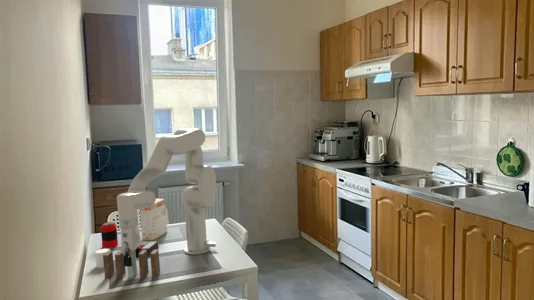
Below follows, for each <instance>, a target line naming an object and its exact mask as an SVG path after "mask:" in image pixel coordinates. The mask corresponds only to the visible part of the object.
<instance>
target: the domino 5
mask: <svg viewBox="0 0 534 300" xmlns="http://www.w3.org/2000/svg"><path fill="white" fill-rule="evenodd" d="M149 257H150V269H151V270H150V271H151V277H152V276H157V275H158V276H159V274H160V273H161V266H160V265H161V264H160V251H159V248H158V249H155V250H153V251H152V252H151V253H150V256H149ZM159 272H160V273H159ZM158 276H157V277H158Z"/></svg>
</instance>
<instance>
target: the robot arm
mask: <svg viewBox="0 0 534 300" xmlns="http://www.w3.org/2000/svg"><path fill="white" fill-rule="evenodd" d="M205 141H206V134H205V132H204V131H203V130H202V129H200V128H195V127H194V128H190V127H189V128H188V127H187V128H185V127H184V128H178V129H177V130H176V131H175V132H174V134H173V135H163V136H161V137H160V138H159V139H158V141H157V143H156V145H155V147H154V149H153V151H152V153H151V156H150V158H149V160H148V162H147V164H146V165H145V166H144V167H143V168H142V169H141V170H140V171H139V172H138V173H137V175H135V177H133V179H132V181H131V183H130V184H129V187H128V190H127V191H126V192H122V193H119V194H118V195H117V197H116V203H117V204H116V205H117V213H118V214H117V215H118V223H119V224H118V225H119V229H120V239H121V241H120V243H121V251H122V255H123V260H124V266H125V268H126V267H127V268H128V267H129V266H132V258H131V257H130V255H131V251H134V250H135V253H136V259H139V256H138V254H139V253H140V249H139V247H140V246H139V245H140V244H141V242H142V239H141V234H140V228H139V218H138V217H139V216H138V209H139V210H140V208H148V207H150V206H152V205H153V204H154V203H155V201H156V199H157V196H156V194H155V193H154V192H153V191H152V190H148V189H146V188H147V186H148V185H149V184H150V183H151V181H153V180H155V179H156V178H158V177H160V176H162V175H164V174H165V173H166V172H167V169H168V167H169V165H170V162H171V160H172V158H173V156H174V155H175V156H181V155H185V156H184V157H185V167H184V168H185V169H184V170H185V174H184V176H185V181H187V182H188V183H189V184H192V186H188V187H186V188H184V190H183V191H182V194H181V200H182V205H183V208H184V209H183V210H184V217H185V218H184V219H185V232H186V244H187V246H186V247H184V249H183V250H184V253H185V254H187V255H192V256H193V255H195V256H196V255H202V254H205V253H208V252H209V251H210V250H211V248H216V246H217V245H216V244H217V243H216V242H215V241H209V239H208V238H207V224H206V213H205V209H210V208H212V207H213V205H214V204H215V202H216V192H217V191H216V190H217V189H216V187H217V176H216V172H215V170H214V168H213V167H212V166H210V165H208V164H204V152H203V148H202V147H201V146H203V144H204V143H205ZM193 185H198V186H193ZM127 249H129V250H127ZM127 252H129V253H127Z"/></svg>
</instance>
